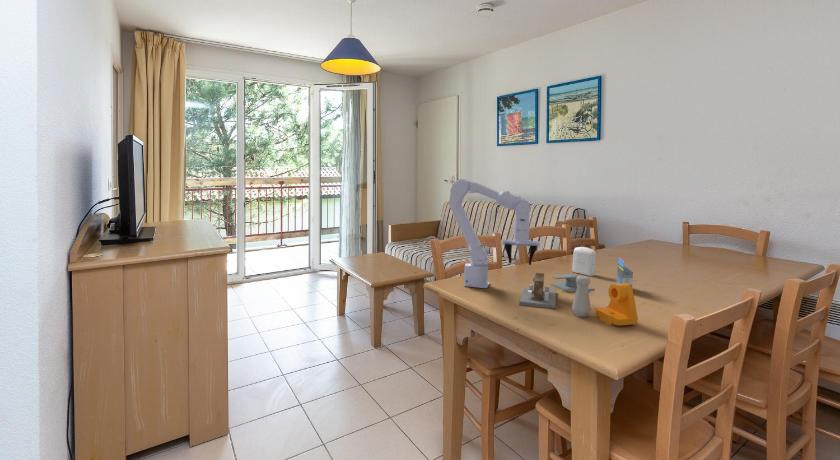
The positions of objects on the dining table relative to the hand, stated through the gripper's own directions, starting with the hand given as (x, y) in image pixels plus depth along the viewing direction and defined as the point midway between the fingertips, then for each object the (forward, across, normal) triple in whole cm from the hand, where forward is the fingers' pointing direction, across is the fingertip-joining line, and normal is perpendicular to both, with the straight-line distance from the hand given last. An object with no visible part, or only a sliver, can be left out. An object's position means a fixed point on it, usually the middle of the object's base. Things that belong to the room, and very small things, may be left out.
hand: (520, 263), depth 167 cm
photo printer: (+10, +26, +34) cm, 44 cm away
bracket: (+10, +32, -28) cm, 44 cm away
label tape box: (+10, +40, +12) cm, 43 cm away
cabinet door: (+9, +8, -12) cm, 17 cm away
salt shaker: (+10, +22, -26) cm, 36 cm away
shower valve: (+11, +19, +8) cm, 23 cm away
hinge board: (+10, +8, -12) cm, 17 cm away
